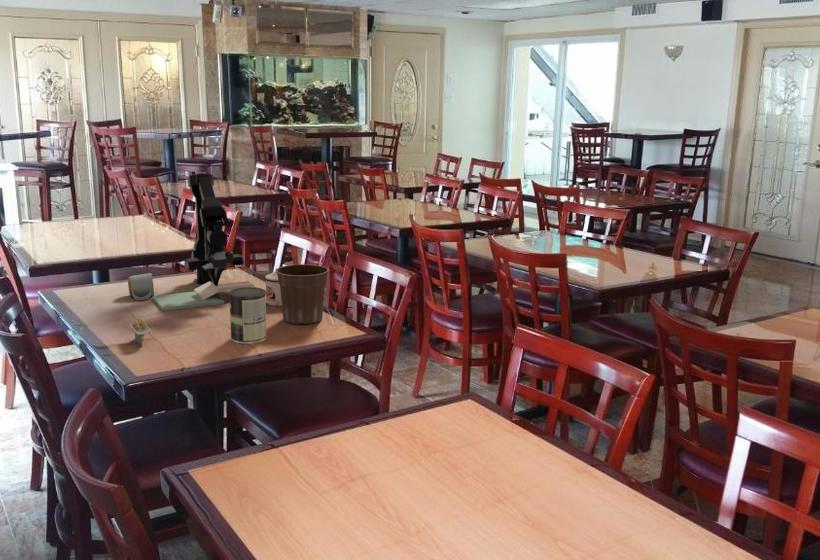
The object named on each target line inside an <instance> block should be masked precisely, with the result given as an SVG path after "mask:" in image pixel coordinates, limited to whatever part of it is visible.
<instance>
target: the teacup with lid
mask: <svg viewBox="0 0 820 560" xmlns="http://www.w3.org/2000/svg"><path fill="white" fill-rule="evenodd" d="M264 280H265V291H266V294H265V299H266V304H267V305H269V306H273V307H275V306H277V307H282V301H281V291H280V284H279V282H278V274H277V273H276V270H275V271H273V272H271V273H269V274H267V275H265V277H264Z"/></svg>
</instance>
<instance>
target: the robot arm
mask: <svg viewBox="0 0 820 560" xmlns="http://www.w3.org/2000/svg"><path fill="white" fill-rule="evenodd" d="M214 185H215V182H214V175H213V174H211V173H209V172H198V173H191V174H190V175H189V176H188V177H187V186H188V188H189V191H190V193H191V194H192V196H193V197H194V202H195V203H194V205H195V217H196V219H195V220H196V221H195V222H196V236H197V239H196V240H195V242H194V244H193V250H192V251H191V257H190V258H186V259H185V260H184V267H185V268H186V269H187V270H188V271H196V278H194V279H193V281H194V282H195V283H196V284H198V285H204V284H205V283H207V282H209V281H210V282H211V283H213V284H214V285H215V286H218V284H220V283H219V282H220V279H221V276H222V275H223V272H224V271H225V270H227V269H228V264H233V265H234V266H237V267H238V266H244V264H245V259H244V257H243V256H241V255H240V254H238V253H237V254H234V253H233V251H225V250H224V249H225V248H224V246H225V245H226V244H227V243H228V235H227V233H226V232H225V231H224V230H223V227H227V225H228V222H229V221H228V215H227V211H226V209H225V207H223V205H222V202H221V201H220V200H219V199H217V198H216V195H215V191H214V188H213V187H214Z"/></svg>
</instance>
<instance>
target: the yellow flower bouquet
mask: <svg viewBox="0 0 820 560" xmlns="http://www.w3.org/2000/svg"><path fill="white" fill-rule="evenodd" d="M129 326H130V327H131V329H133V331H134V339H136V340H135V341H136V342H137V343H138V344H140V345H139V346H140V348H142V347H143V341H144V338H145V335H146V334H147V333H149V332H150V331H151V328H150V327H149V325H148V324H147V323H146V322H145V321H144V320H143V319H142V318H135V319H134V322H130V323H129Z"/></svg>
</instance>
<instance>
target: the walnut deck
mask: <svg viewBox="0 0 820 560" xmlns="http://www.w3.org/2000/svg"><path fill="white" fill-rule="evenodd" d="M243 287H256V288H258V286H255V285H254V284H253V283H252V282H250V281H248V280H247V281H236V282H229V283H218V286H217V288H218V290H219V292H218V293H216V294H214V295H215V296H216V297H217V298H218V299H219V300H224V303H230V299H229V291H231V290H233V289H236V288H243Z"/></svg>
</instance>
